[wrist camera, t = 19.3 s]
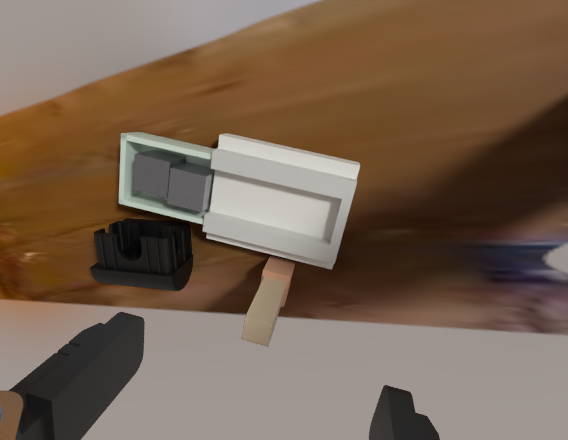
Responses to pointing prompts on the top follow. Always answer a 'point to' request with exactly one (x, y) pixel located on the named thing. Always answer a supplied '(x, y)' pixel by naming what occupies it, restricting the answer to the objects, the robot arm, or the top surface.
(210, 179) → the grey cube block
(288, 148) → the slot board
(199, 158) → the tray
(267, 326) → the two-tone stepped bar
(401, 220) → the top surface
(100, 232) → the end cap
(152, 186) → the dark grey cube
